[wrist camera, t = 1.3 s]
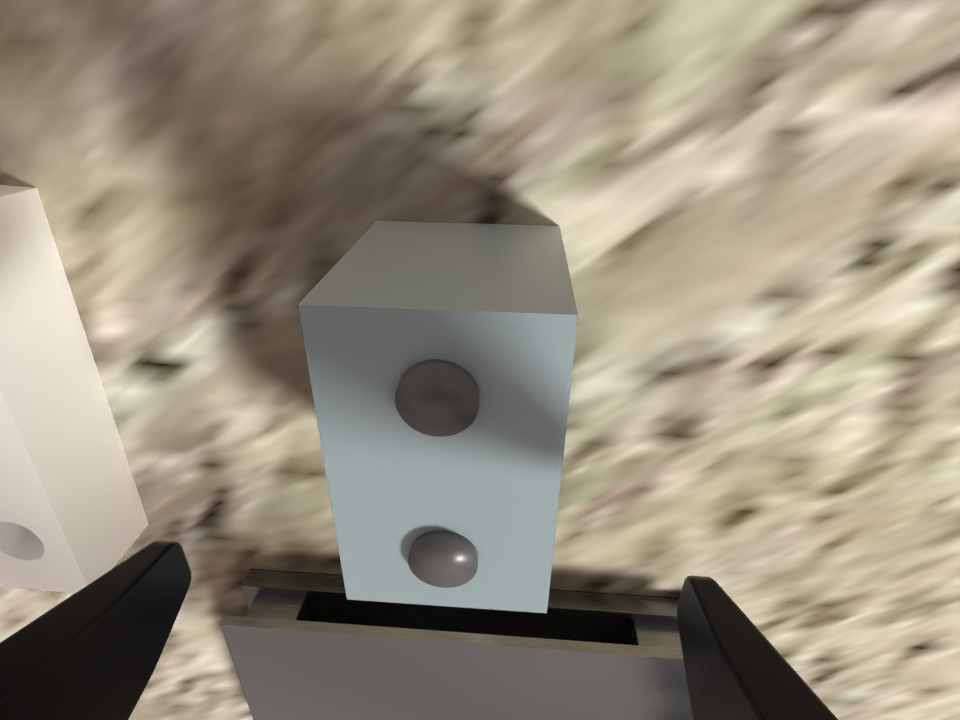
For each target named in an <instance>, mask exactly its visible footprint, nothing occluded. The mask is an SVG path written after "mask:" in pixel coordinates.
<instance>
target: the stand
mask: <svg viewBox="0 0 960 720" xmlns="http://www.w3.org/2000/svg"><path fill="white" fill-rule="evenodd" d="M241 587H242V590H243V593H244V597H245V600H246V603H247V606H248V612H247V614H246V615H245V616H232V615H225V617H224V618H223V620H222V622H221V624H220V626H221V628H222V631H223V634H224V637H225V640H226V643H227V646H228V648H229V651H230V654H231V657H232V660H233V663H234V666H235V668H236V671H237V674H238V677H239V680H240V683H241V686H242V688H243V691H244V694H245V697H246V700H247V703H248V706H249V708H250V711H251V714H252V717H253V720H694V719H693V715H692V710H691V704H690V698H689V692H688V685H687V679H686V673H685V666H684V660H683V654H682V647H681V641H680V635H679V628H678V622H677V607H678V603H679V599H676V598H661V597H647V596H632V595H617V594H603V593H588V592H573V591H559V590H549V598H548V608H547V613H535V612H520V611H506V610H492V609H477V608H463V607H449V606H434V605H420V604H406V603H391V602H377V601H362V600H348V599H347V597H346V591H345V585H344V579H343V576H339V575H325V574H310V573H295V572H281V571H266V570H252V569H250V571H249V572H248V574H247V576H246V578H245V580H244V582H243V583H242V585H241Z"/></svg>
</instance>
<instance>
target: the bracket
mask: <svg viewBox="0 0 960 720" xmlns="http://www.w3.org/2000/svg"><path fill="white" fill-rule="evenodd" d="M148 525H149V524H148V521H147V518H146V515H145V512H144V509H143V506H142V503H141V500H140V497H139V494H138V491H137V488H136V485H135V482H134V479H133V476H132V473H131V470H130V467H129V464H128V461H127V458H126V455H125V452H124V449H123V446H122V443H121V440H120V437H119V434H118V431H117V428H116V425H115V422H114V419H113V416H112V413H111V410H110V407H109V404H108V401H107V398H106V395H105V392H104V389H103V386H102V383H101V380H100V377H99V374H98V371H97V368H96V365H95V362H94V359H93V356H92V353H91V350H90V347H89V344H88V341H87V338H86V335H85V332H84V329H83V326H82V323H81V320H80V317H79V314H78V311H77V308H76V305H75V302H74V299H73V296H72V293H71V290H70V287H69V284H68V281H67V278H66V275H65V272H64V269H63V266H62V263H61V260H60V257H59V254H58V251H57V248H56V245H55V242H54V239H53V236H52V233H51V230H50V227H49V224H48V221H47V218H46V215H45V212H44V209H43V206H42V203H41V200H40V197H39V194H38V191H37V188H34V187H20V186H7V185H0V586H7V587H17V588H27V589H36V590H46V591H56V592H65V593H76V592H78V591H79V590H81V589H82V588H84V587H85V586H87V585H89V584H90V583H92V582H93V581H95V580H96V579H98V578H99V577H101V576H102V575H104V574H105V573H107V572H108V571H110V570H111V569H113V568H114V566H115V565H116V564H117V563H118V561H119V560H120V559H121V558H122V556H123V555H124V554H125V553H126V552H127V550H128V549H129V548H130V547H131V545H132V544H133V543H134V542H135V540H136V539H137V538H138V537H139V536H140V534H141V533H142V532H143V531H144V529H145V528H146V527H147V526H148Z"/></svg>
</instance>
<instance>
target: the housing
mask: <svg viewBox="0 0 960 720" xmlns="http://www.w3.org/2000/svg"><path fill="white" fill-rule="evenodd" d="M298 310H299V316H300V322H301V328H302V334H303V340H304V346H305V352H306V358H307V364H308V369H309V375H310V381H311V387H312V393H313V399H314V405H315V411H316V417H317V423H318V429H319V435H320V441H321V447H322V453H323V459H324V465H325V471H326V477H327V483H328V489H329V495H330V501H331V507H332V513H333V519H334V525H335V531H336V537H337V543H338V549H339V555H340V561H341V567H342V573H343V579H344V585H345V591H346V597H347V599H348V600H362V601H377V602H391V603H406V604H420V605H434V606H449V607H463V608H477V609H492V610H506V611H520V612H535V613H547V608H548V598H549V589H550V579H551V570H552V560H553V550H554V541H555V531H556V521H557V512H558V502H559V492H560V483H561V473H562V464H563V454H564V444H565V435H566V425H567V415H568V406H569V396H570V387H571V377H572V367H573V358H574V348H575V338H576V329H577V319H578V313H577V308H576V303H575V299H574V294H573V289H572V284H571V279H570V275H569V270H568V265H567V260H566V255H565V251H564V246H563V241H562V236H561V231H560V227H559V226H552V225H516V224H479V223H443V222H406V221H376V222H375V223H374V224H373V225H372V226H371V227H370V228H369V229H368V230H367V231H366V232H365V233H364V234H363V236H362V237H361V238H360V239H359V240H358V241H357V242H356V243H355V244H354V245H353V246H352V247H351V248H350V249H349V250H348V252H347V253H346V254H345V255H344V256H343V257H342V258H341V259H340V260H339V261H338V262H337V263H336V264H335V265H334V266H333V268H332V269H331V270H330V271H329V272H328V273H327V274H326V275H325V276H324V277H323V278H322V279H321V280H320V281H319V282H318V284H317V285H316V286H315V287H314V288H313V289H312V290H311V291H310V292H309V293H308V294H307V295H306V296H305V297H304V298H303V300H302V301H301V302H300V303H299V304H298Z"/></svg>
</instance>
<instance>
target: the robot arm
mask: <svg viewBox="0 0 960 720" xmlns="http://www.w3.org/2000/svg"><path fill="white" fill-rule="evenodd" d="M190 582H191V570H190V568H189V565H188V562H187V559H186V557H185V554H184V551H183V548H182V546H181V545H180V544H179V543H178V542H173V541H155V542H153V543H151V544H149V545H148V546H146V547H145V548H143V549H141V550H140V551H138V552H137V553H135V554H134V555H132V556H131V557H129V558H128V559H126V560H125V561H123V562H122V563H120V564H119V565H117V566H116V567H114V568H113V569H111V570H110V571H108V572H107V573H105V574H104V575H102V576H101V577H99V578H98V579H96V580H95V581H93V582H92V583H90V584H89V585H87V586H85V587H84V588H82V589H81V590H79V591H78V592H76V593H75V594H73V595H72V596H70V597H69V598H67V599H66V600H64V601H63V602H61V603H60V604H58V605H57V606H55V607H54V608H52V609H51V610H49V611H48V612H46V613H45V614H43V615H42V616H40V617H39V618H37V619H36V620H34V621H32V622H31V623H29V624H28V625H26V626H25V627H23V628H22V629H20V630H19V631H17V632H16V633H14V634H13V635H11V636H10V637H8V638H7V639H5V640H4V641H2V642H1V643H0V720H128V719H129V717H130V715H131V713H132V711H133V710H134V708H135V706H136V704H137V702H138V700H139V698H140V696H141V694H142V693H143V691H144V689H145V687H146V685H147V683H148V681H149V679H150V677H151V675H152V673H153V671H154V669H155V667H156V665H157V662H158V660H159V658H160V656H161V653H162V651H163V648H164V646H165V644H166V641H167V639H168V636H169V634H170V632H171V629H172V627H173V624H174V622H175V620H176V617H177V615H178V612H179V610H180V608H181V605H182V603H183V600H184V598H185V596H186V593H187V591H188V588H189V586H190ZM677 622H678V628H679V635H680V641H681V647H682V654H683V660H684V666H685V673H686V679H687V685H688V692H689V698H690V704H691V710H692V715H693V719H694V720H838V719H837V718H836V717H835V715H834V714H833V713H832V712H831V711H830V710H829V709H828V708H827V706H826V705H825V704H824V703H823V702H822V701H821V700H820V699H819V697H818V696H817V695H816V694H815V693H814V692H813V691H812V690H811V688H810V687H809V686H808V685H807V684H806V683H805V682H804V680H803V679H802V678H801V677H800V676H799V675H798V674H797V673H796V671H795V670H794V669H793V668H792V667H791V666H790V665H789V664H788V662H787V661H786V660H785V659H784V658H783V657H782V656H781V655H780V653H779V652H778V651H777V650H776V649H775V648H774V647H773V646H772V644H771V643H770V642H769V641H768V640H767V639H766V638H765V637H764V635H763V634H762V633H761V632H760V631H759V630H758V629H757V627H756V626H755V625H754V624H753V623H752V622H751V621H750V620H749V618H748V617H747V616H746V615H745V614H744V613H743V612H742V611H741V609H740V608H739V607H738V606H737V605H736V604H735V603H734V602H733V600H732V599H731V598H730V597H729V596H728V595H727V594H726V593H725V591H724V590H723V589H722V588H721V587H720V586H719V585H718V584H717V582H716V581H715V580H713V579H712V578H710V577H702V576H688V577H687V578H686V579H685V581H684V585H683V588H682V592H681V595H680V599H679V603H678V607H677Z"/></svg>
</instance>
